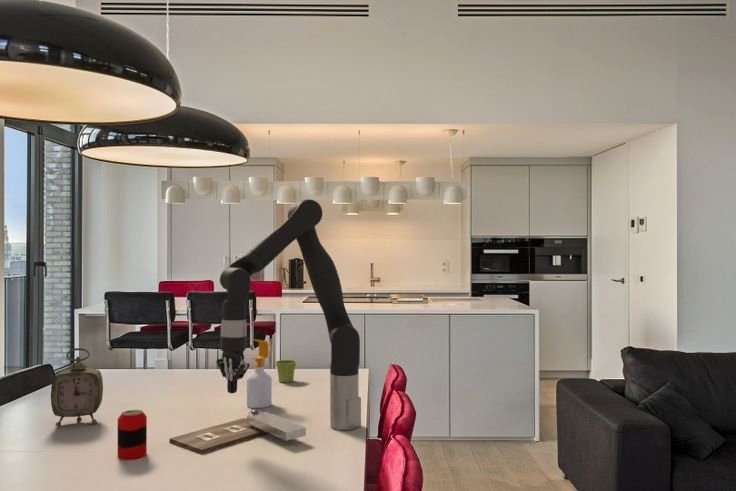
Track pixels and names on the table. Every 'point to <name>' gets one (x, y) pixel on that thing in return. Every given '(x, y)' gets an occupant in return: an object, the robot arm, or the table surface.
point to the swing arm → (275, 425)
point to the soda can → (132, 435)
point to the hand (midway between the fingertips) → (232, 392)
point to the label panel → (217, 436)
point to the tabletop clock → (76, 391)
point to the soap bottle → (259, 381)
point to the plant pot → (286, 370)
